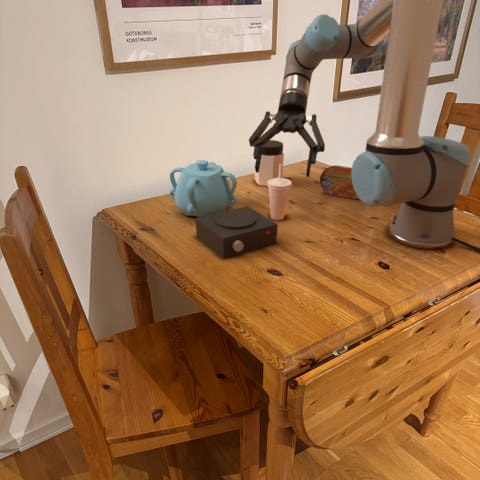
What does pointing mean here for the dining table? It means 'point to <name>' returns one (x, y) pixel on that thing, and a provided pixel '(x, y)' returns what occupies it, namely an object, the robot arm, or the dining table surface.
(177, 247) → the dining table surface
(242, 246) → the hot plate
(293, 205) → the dining table surface
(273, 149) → the jar
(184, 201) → the decorative pot
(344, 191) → the tin
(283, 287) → the dining table surface
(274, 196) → the smoothie
